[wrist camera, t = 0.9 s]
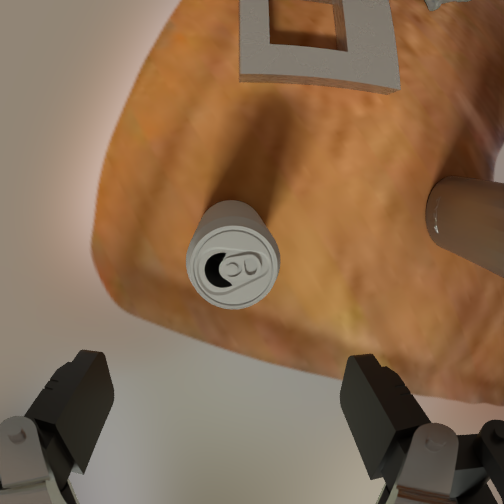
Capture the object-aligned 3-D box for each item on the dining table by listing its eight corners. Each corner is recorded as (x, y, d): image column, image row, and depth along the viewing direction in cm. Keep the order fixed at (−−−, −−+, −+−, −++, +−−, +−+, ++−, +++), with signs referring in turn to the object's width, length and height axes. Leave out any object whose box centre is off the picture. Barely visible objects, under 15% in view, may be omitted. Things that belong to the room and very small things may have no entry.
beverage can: (193, 205, 30) (172, 230, 19) (257, 194, 30) (276, 211, 19) (205, 266, 32) (194, 321, 20) (267, 255, 32) (289, 305, 21)
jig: (374, -6, 24) (384, -17, 22) (387, 94, 28) (400, 89, 25) (238, -24, 23) (240, -38, 20) (239, 82, 27) (240, 73, 24)
